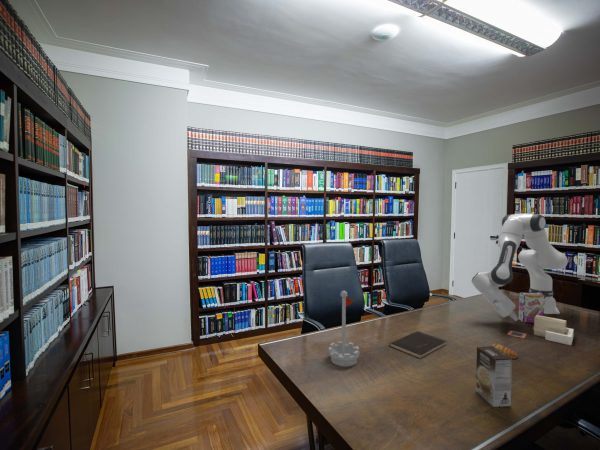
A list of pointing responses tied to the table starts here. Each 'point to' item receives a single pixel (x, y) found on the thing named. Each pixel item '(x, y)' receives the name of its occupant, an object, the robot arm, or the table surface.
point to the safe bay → (560, 336)
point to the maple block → (548, 325)
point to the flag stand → (344, 342)
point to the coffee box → (494, 376)
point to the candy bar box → (530, 306)
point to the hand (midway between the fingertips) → (517, 319)
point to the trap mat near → (517, 334)
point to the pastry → (506, 350)
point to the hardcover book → (418, 344)
